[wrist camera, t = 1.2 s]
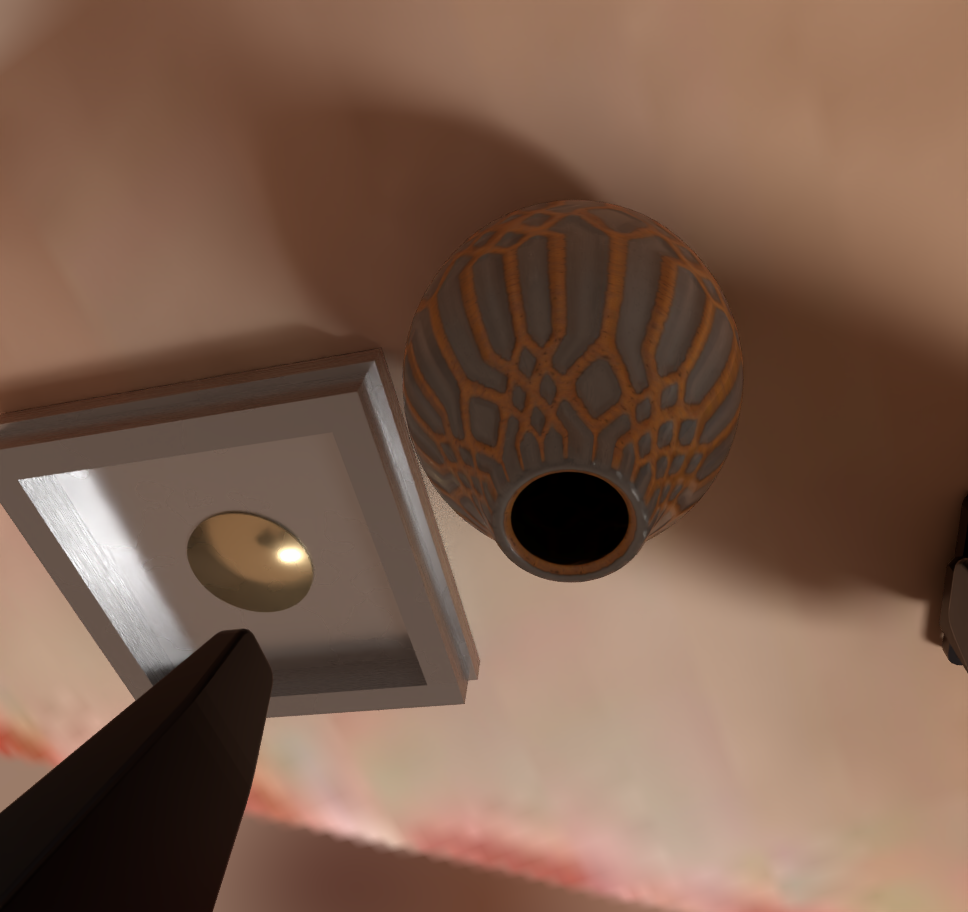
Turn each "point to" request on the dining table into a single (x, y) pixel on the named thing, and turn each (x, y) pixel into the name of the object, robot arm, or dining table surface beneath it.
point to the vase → (572, 384)
